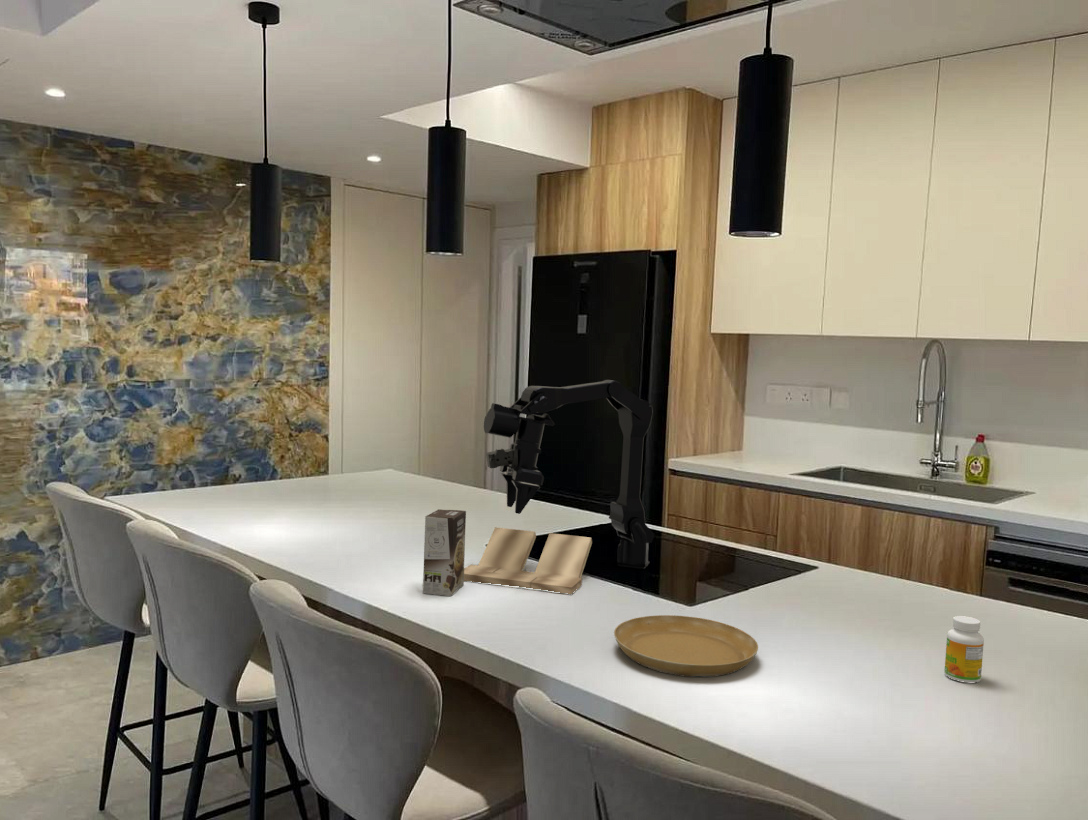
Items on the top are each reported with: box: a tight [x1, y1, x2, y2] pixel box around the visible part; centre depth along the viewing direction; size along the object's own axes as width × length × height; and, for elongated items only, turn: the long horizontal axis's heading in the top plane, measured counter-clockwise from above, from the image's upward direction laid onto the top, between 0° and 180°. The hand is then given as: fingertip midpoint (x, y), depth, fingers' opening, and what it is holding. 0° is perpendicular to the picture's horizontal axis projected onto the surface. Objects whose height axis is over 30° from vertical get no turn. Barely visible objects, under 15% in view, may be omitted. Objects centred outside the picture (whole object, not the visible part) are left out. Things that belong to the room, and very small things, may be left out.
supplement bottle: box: [943, 615, 985, 683], centre depth 141 cm, size 5×5×10 cm
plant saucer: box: [613, 614, 759, 677], centre depth 147 cm, size 24×24×3 cm
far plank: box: [477, 527, 537, 571], centre depth 199 cm, size 10×12×2 cm
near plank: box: [534, 532, 593, 578], centre depth 194 cm, size 10×12×2 cm
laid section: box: [464, 564, 583, 595], centre depth 187 cm, size 26×8×2 cm, turn 72°
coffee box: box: [422, 509, 467, 597], centre depth 180 cm, size 9×6×16 cm
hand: (513, 510), depth 193 cm, fingers open, 9 cm apart
